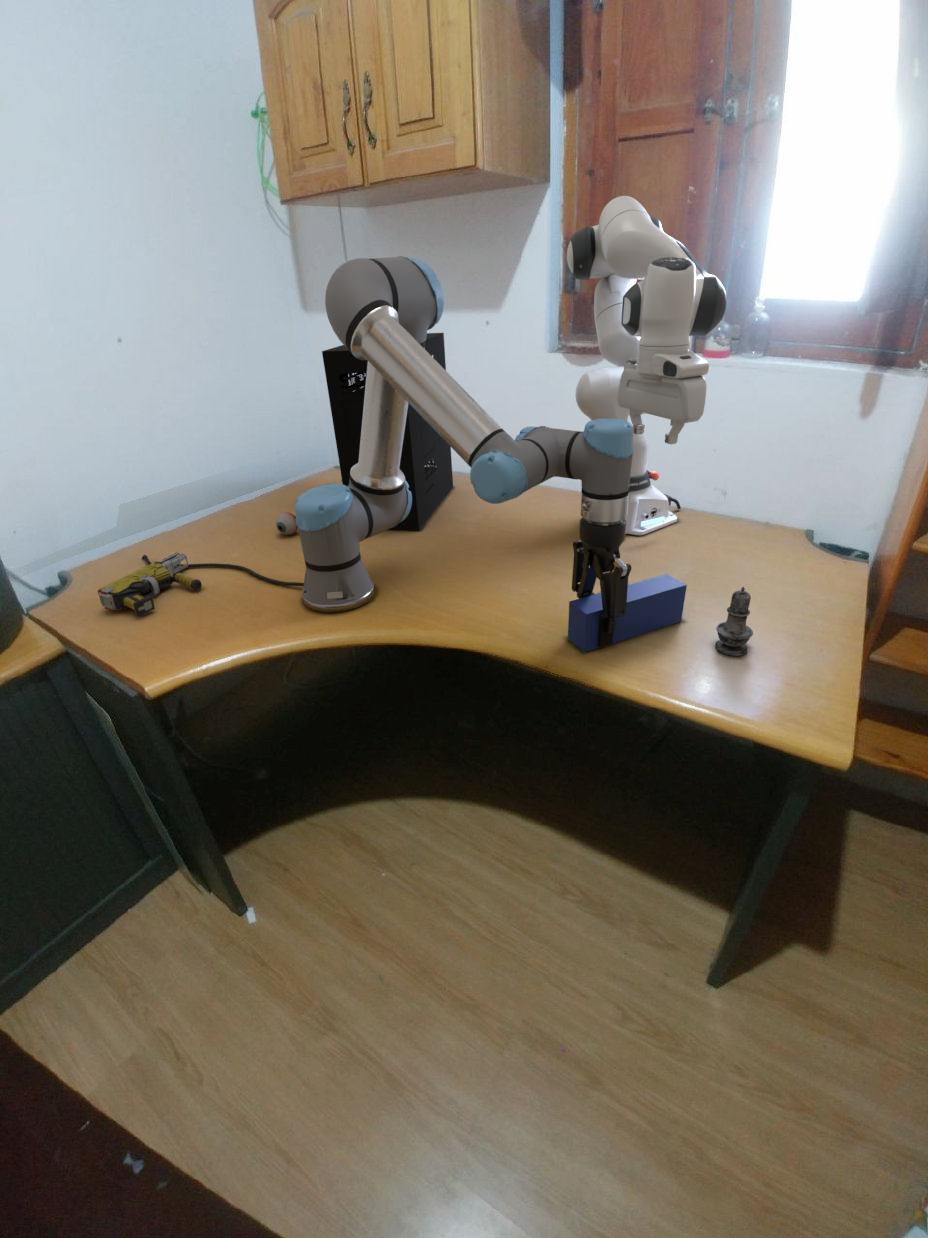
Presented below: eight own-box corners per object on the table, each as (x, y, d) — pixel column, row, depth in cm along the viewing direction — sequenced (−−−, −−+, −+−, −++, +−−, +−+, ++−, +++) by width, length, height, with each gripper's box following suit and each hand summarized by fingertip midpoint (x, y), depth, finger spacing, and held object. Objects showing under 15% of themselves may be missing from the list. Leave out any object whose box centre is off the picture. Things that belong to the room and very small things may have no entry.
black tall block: (419, 530, 162) (402, 348, 140) (349, 527, 167) (321, 351, 144) (453, 486, 194) (443, 332, 171) (393, 485, 198) (376, 334, 176)
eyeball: (273, 537, 164) (268, 516, 161) (287, 528, 169) (282, 508, 166) (291, 539, 161) (286, 518, 158) (305, 530, 166) (301, 510, 163)
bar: (662, 609, 119) (666, 573, 115) (681, 621, 115) (686, 584, 111) (567, 638, 112) (569, 601, 108) (584, 652, 108) (586, 614, 104)
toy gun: (225, 560, 144) (174, 549, 148) (148, 603, 124) (91, 589, 127) (228, 578, 146) (177, 567, 150) (152, 623, 126) (96, 609, 130)
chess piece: (752, 657, 103) (766, 595, 97) (715, 655, 104) (727, 594, 98) (745, 639, 108) (758, 579, 102) (711, 637, 109) (721, 578, 103)
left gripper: (553, 505, 105) (550, 620, 117) (619, 541, 91) (608, 668, 102) (589, 498, 108) (583, 611, 120) (659, 531, 93) (644, 656, 105)
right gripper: (612, 357, 117) (607, 430, 124) (687, 369, 101) (677, 452, 107) (638, 354, 119) (632, 426, 126) (716, 364, 103) (704, 446, 110)
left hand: (594, 637), depth 111 cm, fingers closed on bar, 5 cm apart
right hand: (653, 438), depth 117 cm, fingers open, 8 cm apart
